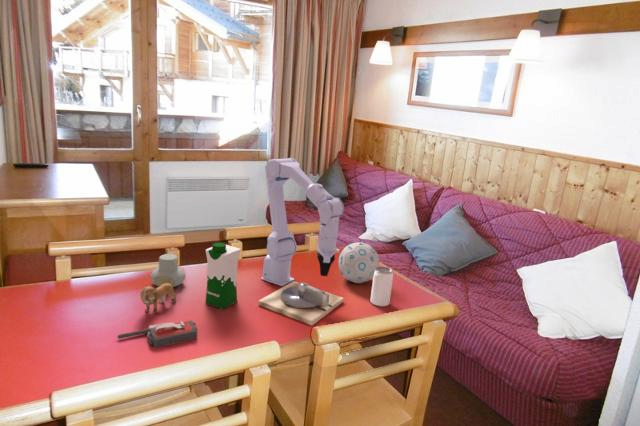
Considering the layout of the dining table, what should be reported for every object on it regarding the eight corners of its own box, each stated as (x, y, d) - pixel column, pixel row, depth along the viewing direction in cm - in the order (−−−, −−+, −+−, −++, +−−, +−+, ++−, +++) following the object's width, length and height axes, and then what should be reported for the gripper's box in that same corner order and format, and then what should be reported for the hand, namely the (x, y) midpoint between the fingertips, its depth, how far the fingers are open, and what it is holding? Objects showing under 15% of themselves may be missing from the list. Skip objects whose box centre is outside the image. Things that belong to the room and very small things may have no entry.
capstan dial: (271, 298, 144) (272, 283, 143) (299, 286, 155) (301, 272, 154) (312, 317, 134) (313, 301, 133) (339, 303, 145) (341, 288, 144)
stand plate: (258, 305, 142) (258, 299, 142) (293, 285, 159) (293, 280, 159) (311, 325, 133) (312, 320, 132) (342, 301, 150) (343, 297, 149)
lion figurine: (151, 320, 127) (151, 291, 125) (135, 316, 129) (135, 287, 126) (180, 299, 141) (181, 272, 139) (166, 295, 142) (166, 269, 140)
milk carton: (201, 303, 140) (202, 243, 134) (220, 293, 148) (222, 236, 142) (223, 311, 136) (225, 249, 131) (241, 301, 144) (244, 242, 138)
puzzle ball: (329, 281, 165) (333, 242, 161) (349, 269, 178) (353, 234, 174) (365, 293, 158) (370, 253, 154) (383, 281, 170) (388, 244, 166)
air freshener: (187, 280, 155) (188, 253, 152) (181, 291, 147) (181, 262, 144) (155, 278, 154) (155, 251, 151) (147, 288, 146) (147, 260, 143)
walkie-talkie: (192, 324, 128) (117, 339, 118) (192, 310, 127) (116, 324, 116) (202, 339, 121) (122, 356, 111) (202, 324, 120) (122, 341, 109)
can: (388, 308, 148) (393, 275, 145) (369, 305, 149) (373, 271, 146) (389, 300, 154) (394, 268, 151) (371, 297, 155) (375, 264, 152)
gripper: (341, 244, 136) (337, 285, 139) (339, 230, 150) (335, 267, 153) (318, 242, 135) (314, 283, 139) (318, 228, 149) (314, 265, 153)
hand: (323, 275), depth 146 cm, fingers closed
